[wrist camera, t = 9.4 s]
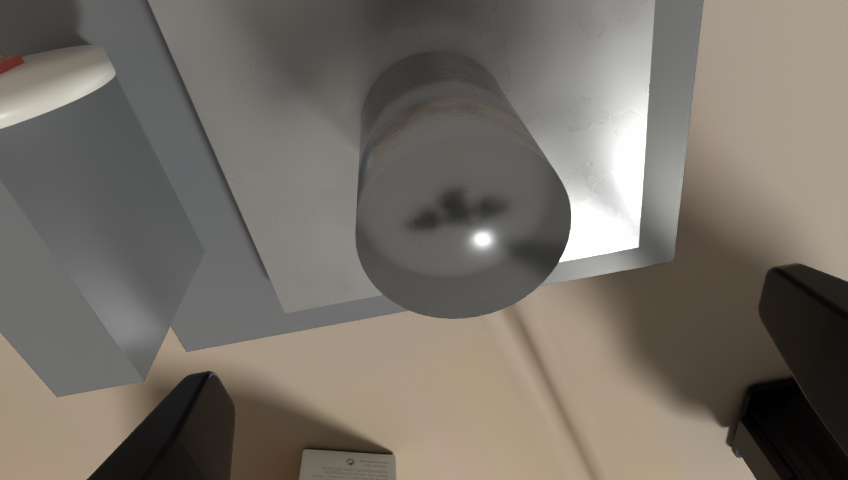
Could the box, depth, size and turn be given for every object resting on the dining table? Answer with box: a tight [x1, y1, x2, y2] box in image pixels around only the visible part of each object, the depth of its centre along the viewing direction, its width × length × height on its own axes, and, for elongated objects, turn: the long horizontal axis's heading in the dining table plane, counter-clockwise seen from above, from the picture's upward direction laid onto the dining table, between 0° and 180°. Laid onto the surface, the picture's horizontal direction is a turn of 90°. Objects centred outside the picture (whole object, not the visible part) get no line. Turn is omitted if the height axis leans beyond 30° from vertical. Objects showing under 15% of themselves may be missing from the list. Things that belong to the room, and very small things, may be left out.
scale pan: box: [148, 0, 655, 313], centre depth 16 cm, size 13×12×1 cm
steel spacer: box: [355, 51, 572, 319], centre depth 13 cm, size 4×4×6 cm
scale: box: [0, 0, 704, 397], centre depth 15 cm, size 21×16×9 cm
